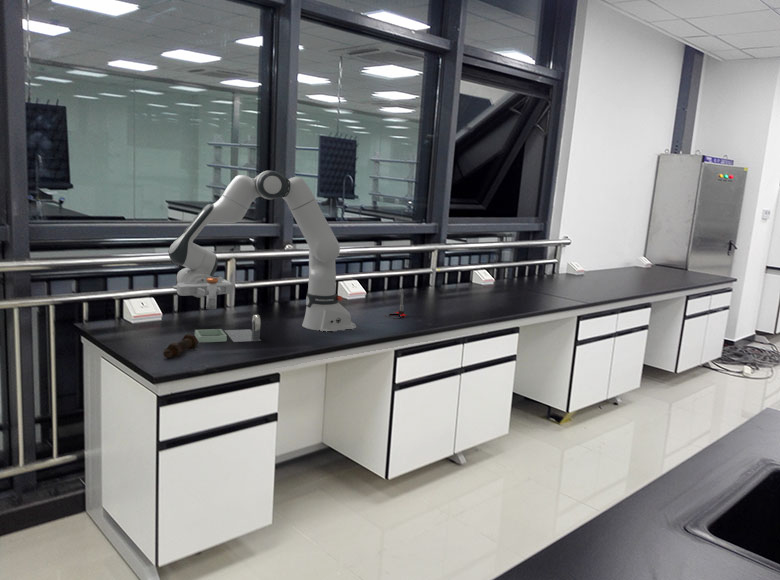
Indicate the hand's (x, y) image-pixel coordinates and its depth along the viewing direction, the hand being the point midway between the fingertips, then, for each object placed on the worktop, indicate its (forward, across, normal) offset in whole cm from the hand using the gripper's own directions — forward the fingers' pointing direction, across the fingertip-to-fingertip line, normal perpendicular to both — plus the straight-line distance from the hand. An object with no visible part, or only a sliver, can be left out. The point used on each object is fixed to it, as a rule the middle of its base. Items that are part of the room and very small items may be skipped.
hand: (212, 292), depth 222 cm
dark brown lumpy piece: (+10, -15, +19) cm, 26 cm away
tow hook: (-12, +92, +18) cm, 95 cm away
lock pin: (-1, 0, +6) cm, 6 cm away
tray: (-1, 0, +18) cm, 18 cm away
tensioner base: (-1, +12, +18) cm, 22 cm away
